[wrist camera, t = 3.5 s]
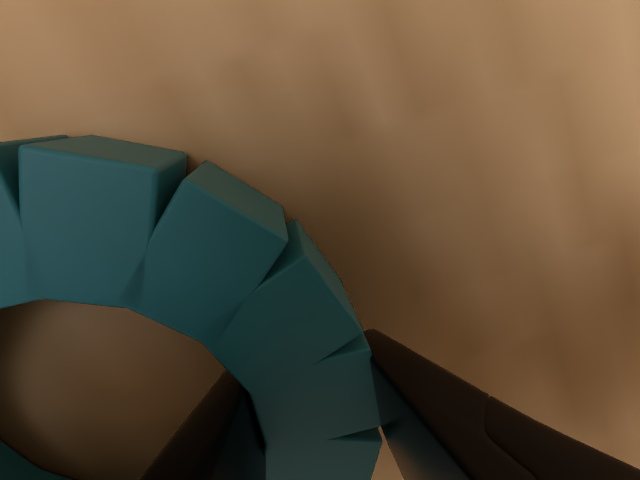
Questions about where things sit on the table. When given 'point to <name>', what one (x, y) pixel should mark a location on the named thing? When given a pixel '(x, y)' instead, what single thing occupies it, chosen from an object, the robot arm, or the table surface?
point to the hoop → (195, 287)
